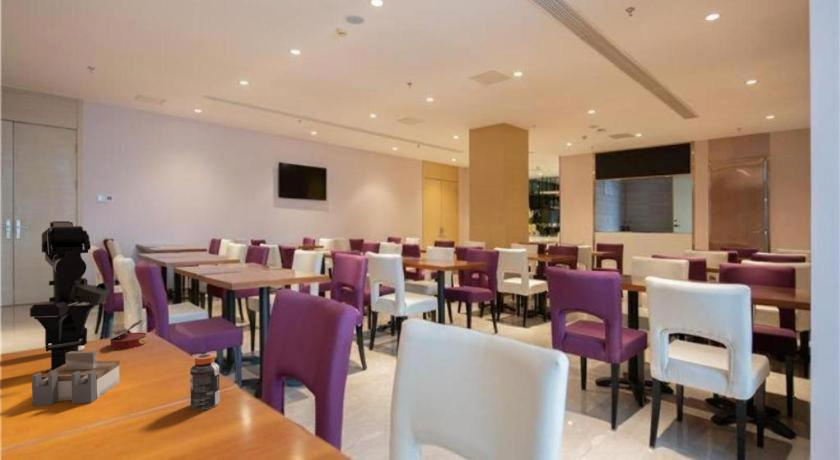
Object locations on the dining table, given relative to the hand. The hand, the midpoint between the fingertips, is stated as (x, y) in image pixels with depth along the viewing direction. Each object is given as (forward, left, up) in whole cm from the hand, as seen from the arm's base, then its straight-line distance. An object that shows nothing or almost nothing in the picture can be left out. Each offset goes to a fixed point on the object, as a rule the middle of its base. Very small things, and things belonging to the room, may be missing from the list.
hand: (69, 336), depth 111 cm
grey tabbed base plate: (+7, +6, -8) cm, 12 cm away
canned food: (-34, -2, -12) cm, 36 cm away
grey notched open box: (+7, +6, -12) cm, 15 cm away
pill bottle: (+18, +38, -12) cm, 44 cm away
